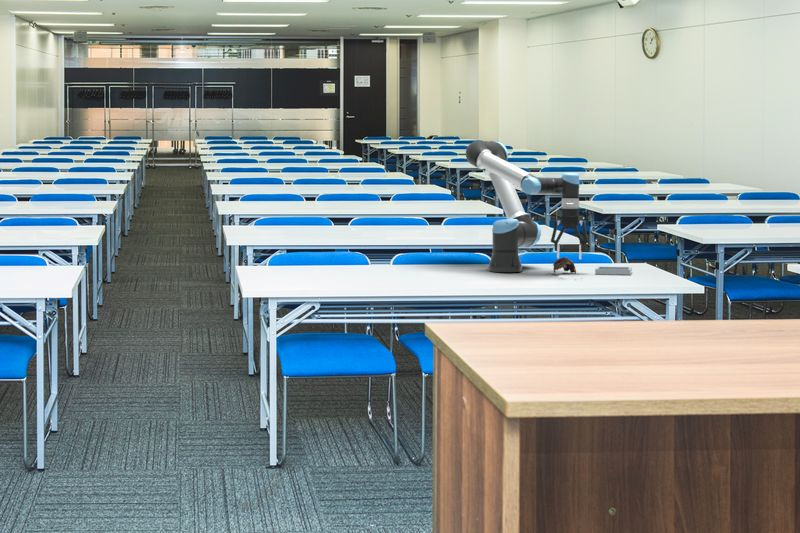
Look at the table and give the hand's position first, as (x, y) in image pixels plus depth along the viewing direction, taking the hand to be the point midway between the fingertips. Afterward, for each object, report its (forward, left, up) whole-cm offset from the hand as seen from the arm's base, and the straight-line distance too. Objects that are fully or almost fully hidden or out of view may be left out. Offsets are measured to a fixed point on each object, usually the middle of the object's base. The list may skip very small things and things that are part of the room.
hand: (569, 258), depth 478 cm
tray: (+19, +4, -7) cm, 21 cm away
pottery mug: (0, +1, -8) cm, 8 cm away
